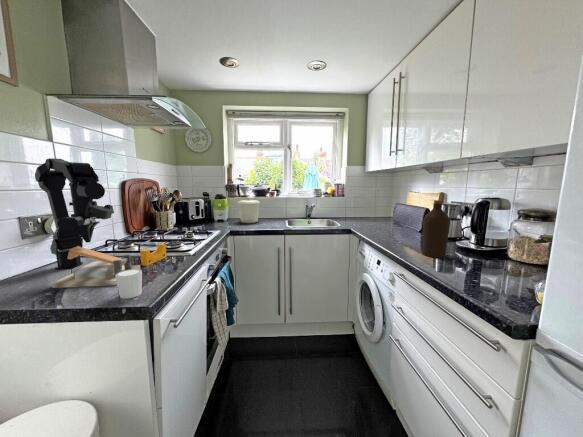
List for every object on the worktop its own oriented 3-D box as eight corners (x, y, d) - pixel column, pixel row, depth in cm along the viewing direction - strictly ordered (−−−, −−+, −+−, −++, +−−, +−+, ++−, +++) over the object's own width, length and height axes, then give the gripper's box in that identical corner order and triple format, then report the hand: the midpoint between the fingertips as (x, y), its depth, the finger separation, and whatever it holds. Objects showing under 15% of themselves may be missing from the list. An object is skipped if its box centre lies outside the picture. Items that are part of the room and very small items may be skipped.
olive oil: (441, 260, 110) (446, 202, 106) (416, 254, 118) (420, 200, 114) (450, 255, 117) (455, 200, 113) (426, 250, 125) (430, 199, 121)
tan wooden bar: (65, 259, 88) (68, 248, 87) (76, 254, 93) (79, 244, 92) (117, 273, 90) (120, 262, 90) (125, 268, 95) (128, 258, 95)
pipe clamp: (158, 256, 117) (156, 243, 116) (166, 257, 116) (165, 243, 115) (138, 265, 106) (136, 250, 105) (147, 266, 105) (145, 250, 104)
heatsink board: (52, 287, 84) (49, 267, 82) (85, 270, 99) (83, 253, 98) (117, 284, 86) (115, 264, 85) (140, 268, 101) (138, 251, 100)
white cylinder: (125, 290, 82) (123, 269, 81) (147, 289, 82) (145, 268, 81) (112, 300, 75) (109, 277, 74) (137, 299, 76) (134, 276, 74)
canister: (236, 221, 213) (235, 196, 210) (258, 220, 219) (257, 195, 215) (239, 225, 196) (238, 197, 193) (262, 223, 202) (262, 196, 198)
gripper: (90, 200, 82) (96, 247, 84) (120, 196, 100) (125, 235, 102) (51, 201, 80) (59, 249, 83) (89, 197, 99) (95, 237, 101)
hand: (88, 242), depth 92 cm, fingers closed
